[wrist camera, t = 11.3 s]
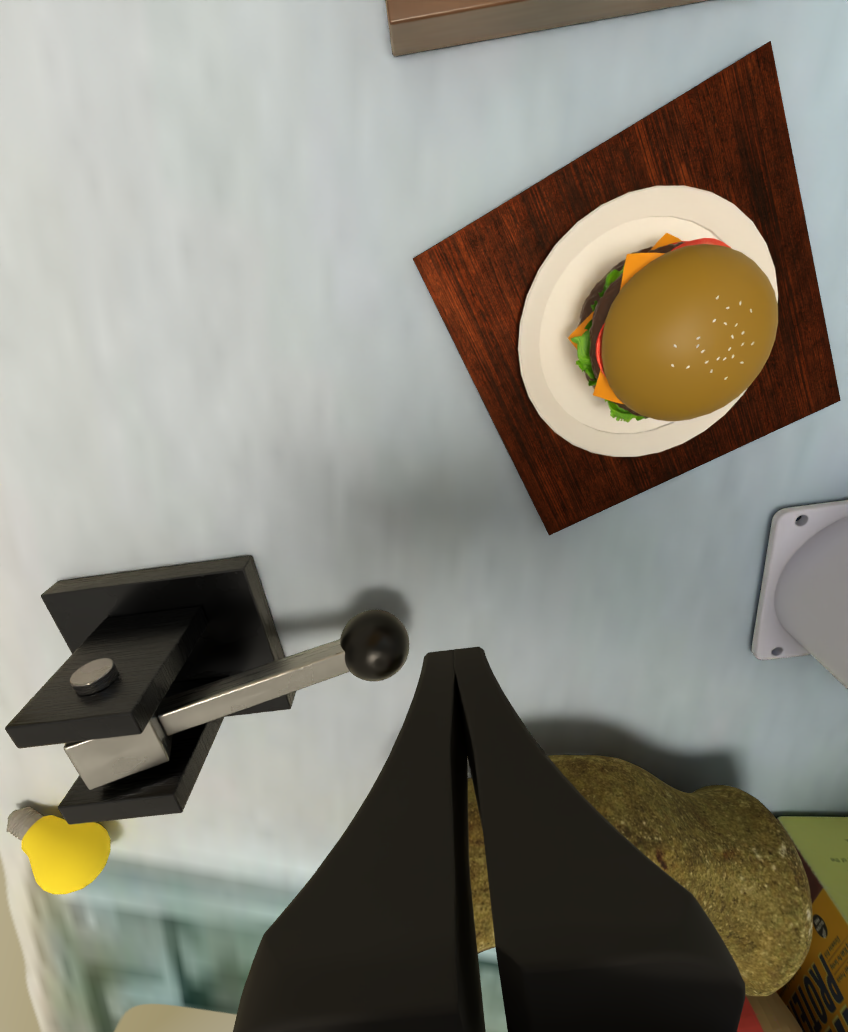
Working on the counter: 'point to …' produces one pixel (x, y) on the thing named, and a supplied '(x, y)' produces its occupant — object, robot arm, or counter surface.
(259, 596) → the bracket
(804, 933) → the stone tool
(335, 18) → the counter surface
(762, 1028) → the decorative object
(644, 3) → the button block
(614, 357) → the hamburger
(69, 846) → the light bulb
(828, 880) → the protein box
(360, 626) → the lever
